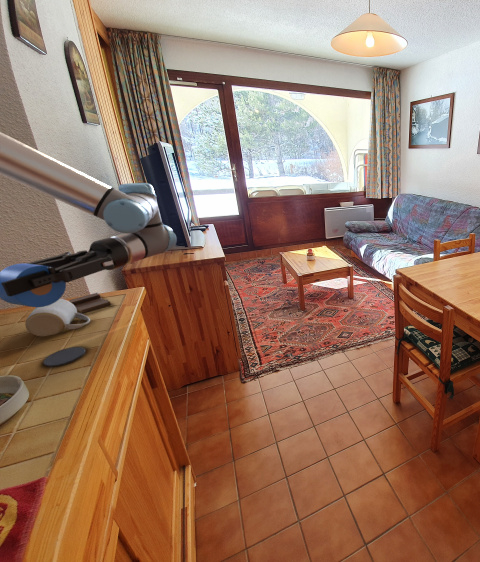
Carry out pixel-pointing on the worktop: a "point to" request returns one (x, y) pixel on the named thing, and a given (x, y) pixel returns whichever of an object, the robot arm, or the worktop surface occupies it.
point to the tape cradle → (89, 302)
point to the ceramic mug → (54, 318)
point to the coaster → (64, 356)
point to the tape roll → (35, 296)
